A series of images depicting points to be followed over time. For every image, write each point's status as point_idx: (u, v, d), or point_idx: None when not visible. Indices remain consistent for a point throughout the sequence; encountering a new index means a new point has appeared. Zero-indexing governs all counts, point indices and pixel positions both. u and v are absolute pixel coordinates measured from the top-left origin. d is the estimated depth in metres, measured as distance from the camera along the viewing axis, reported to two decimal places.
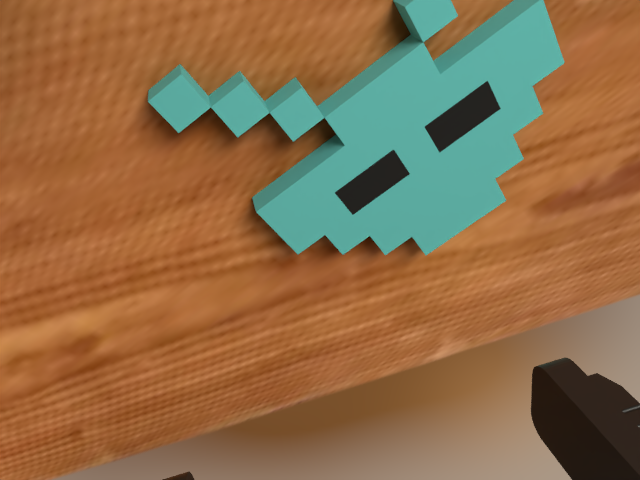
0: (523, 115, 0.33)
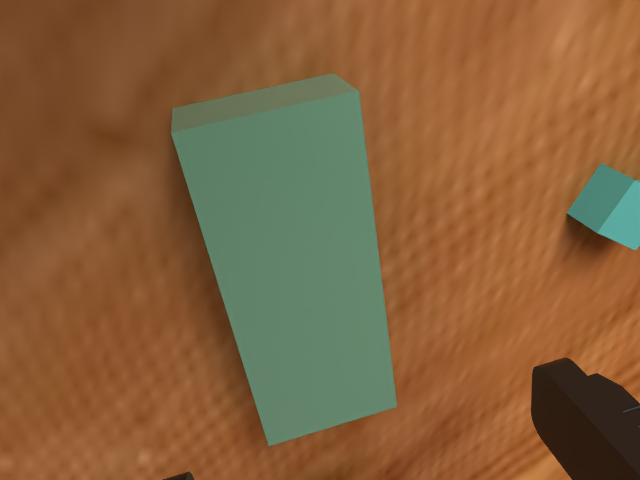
0: None
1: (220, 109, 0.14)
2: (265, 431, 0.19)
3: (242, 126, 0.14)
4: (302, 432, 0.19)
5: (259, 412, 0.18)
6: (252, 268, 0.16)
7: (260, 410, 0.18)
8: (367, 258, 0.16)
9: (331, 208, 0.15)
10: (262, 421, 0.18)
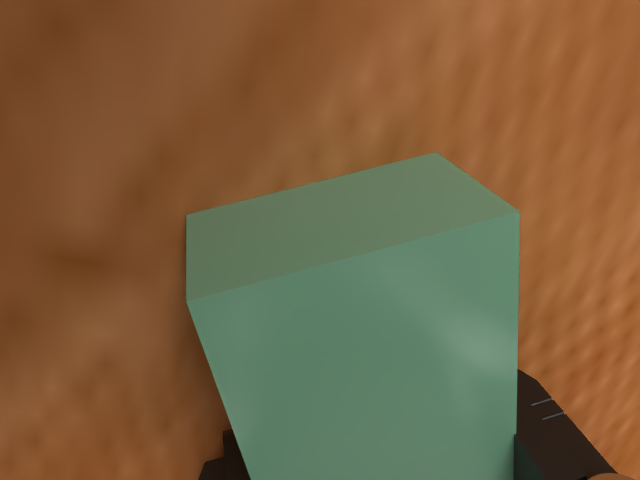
0: None
1: (269, 237, 0.08)
2: None
3: (313, 282, 0.07)
4: None
5: None
6: None
7: None
8: (498, 451, 0.10)
9: (452, 390, 0.09)
10: None
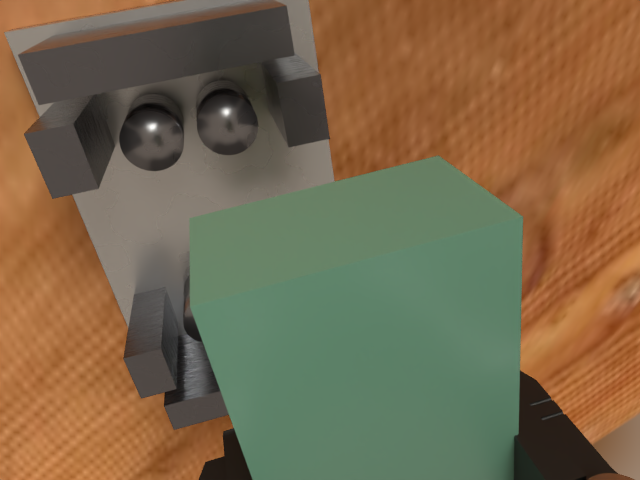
0: None
1: (273, 241, 0.08)
2: None
3: (317, 287, 0.07)
4: None
5: None
6: None
7: None
8: (500, 455, 0.10)
9: (454, 394, 0.09)
10: None
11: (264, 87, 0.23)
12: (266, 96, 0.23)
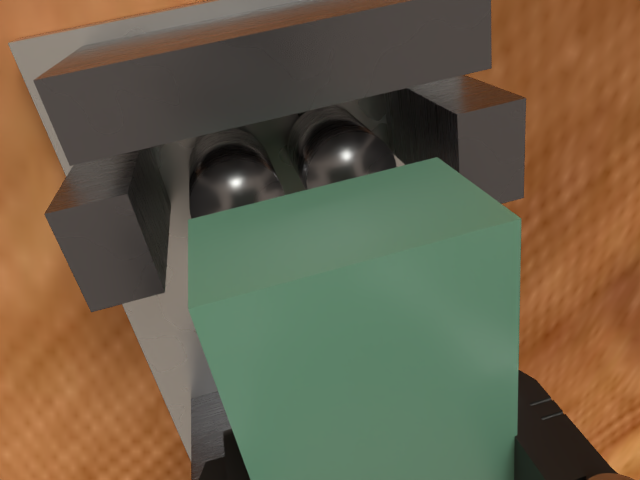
0: None
1: (271, 243, 0.08)
2: None
3: (315, 289, 0.07)
4: None
5: None
6: None
7: None
8: (499, 456, 0.10)
9: (453, 396, 0.09)
10: None
11: (385, 113, 0.16)
12: (387, 126, 0.16)
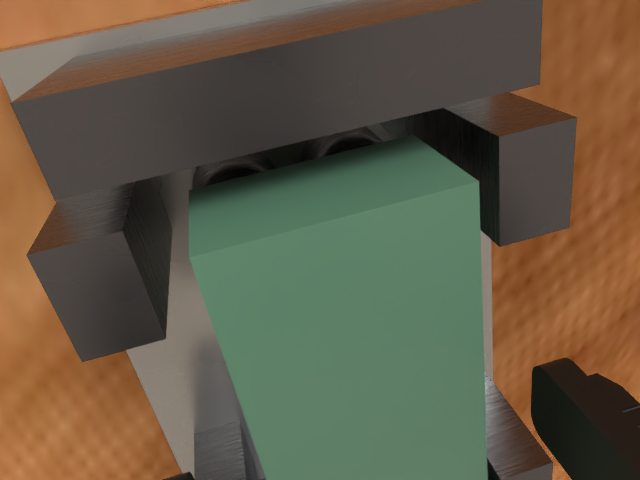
0: None
1: (262, 206, 0.10)
2: None
3: (299, 242, 0.09)
4: None
5: None
6: (307, 429, 0.11)
7: None
8: (469, 403, 0.11)
9: (424, 344, 0.10)
10: None
11: (406, 129, 0.15)
12: None
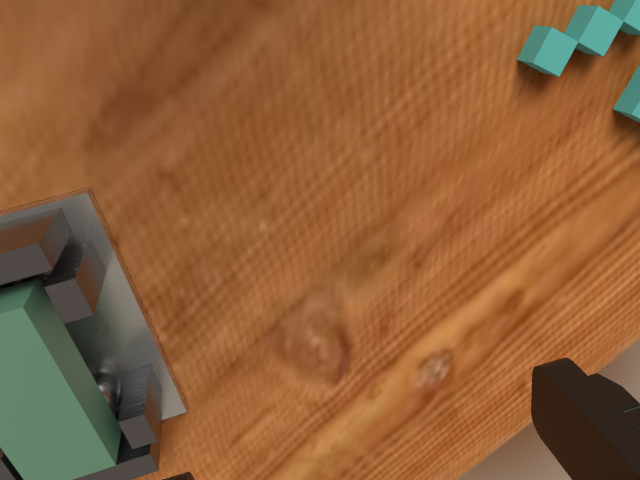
0: None
1: None
2: None
3: None
4: None
5: (19, 472, 0.30)
6: None
7: (20, 471, 0.30)
8: (60, 385, 0.29)
9: (27, 362, 0.28)
10: (23, 478, 0.31)
11: None
12: None
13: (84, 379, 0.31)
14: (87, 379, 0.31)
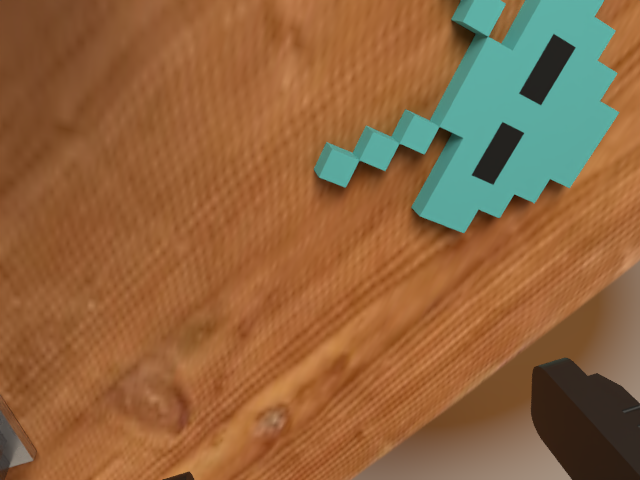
0: (598, 41, 0.37)
1: None
2: None
3: None
4: None
5: None
6: None
7: None
8: None
9: None
10: None
11: None
12: None
13: None
14: None
